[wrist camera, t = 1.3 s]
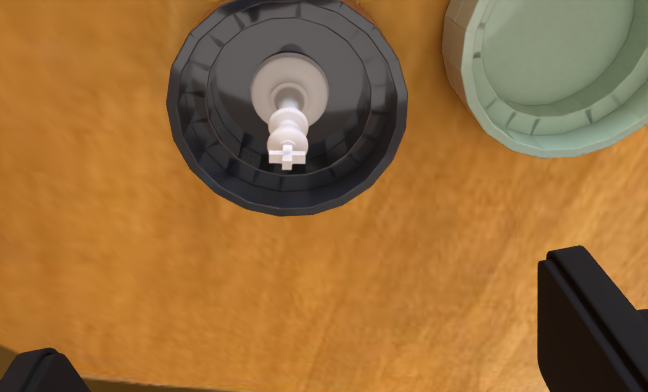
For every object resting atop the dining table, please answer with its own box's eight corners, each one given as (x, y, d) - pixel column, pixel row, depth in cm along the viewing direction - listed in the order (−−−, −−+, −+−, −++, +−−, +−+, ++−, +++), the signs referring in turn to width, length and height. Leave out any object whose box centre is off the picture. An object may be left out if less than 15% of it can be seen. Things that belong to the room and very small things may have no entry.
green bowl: (397, 57, 31) (411, 80, 27) (558, -158, 25) (605, -168, 21) (542, 161, 35) (573, 194, 31) (707, -4, 30) (768, 11, 26)
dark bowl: (148, 117, 32) (127, 148, 28) (252, -76, 27) (244, -71, 23) (317, 211, 36) (320, 248, 32) (436, 61, 31) (456, 84, 27)
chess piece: (327, 129, 33) (337, 211, 24) (251, 126, 32) (234, 210, 24) (331, 53, 30) (344, 116, 21) (249, 50, 30) (229, 112, 21)
